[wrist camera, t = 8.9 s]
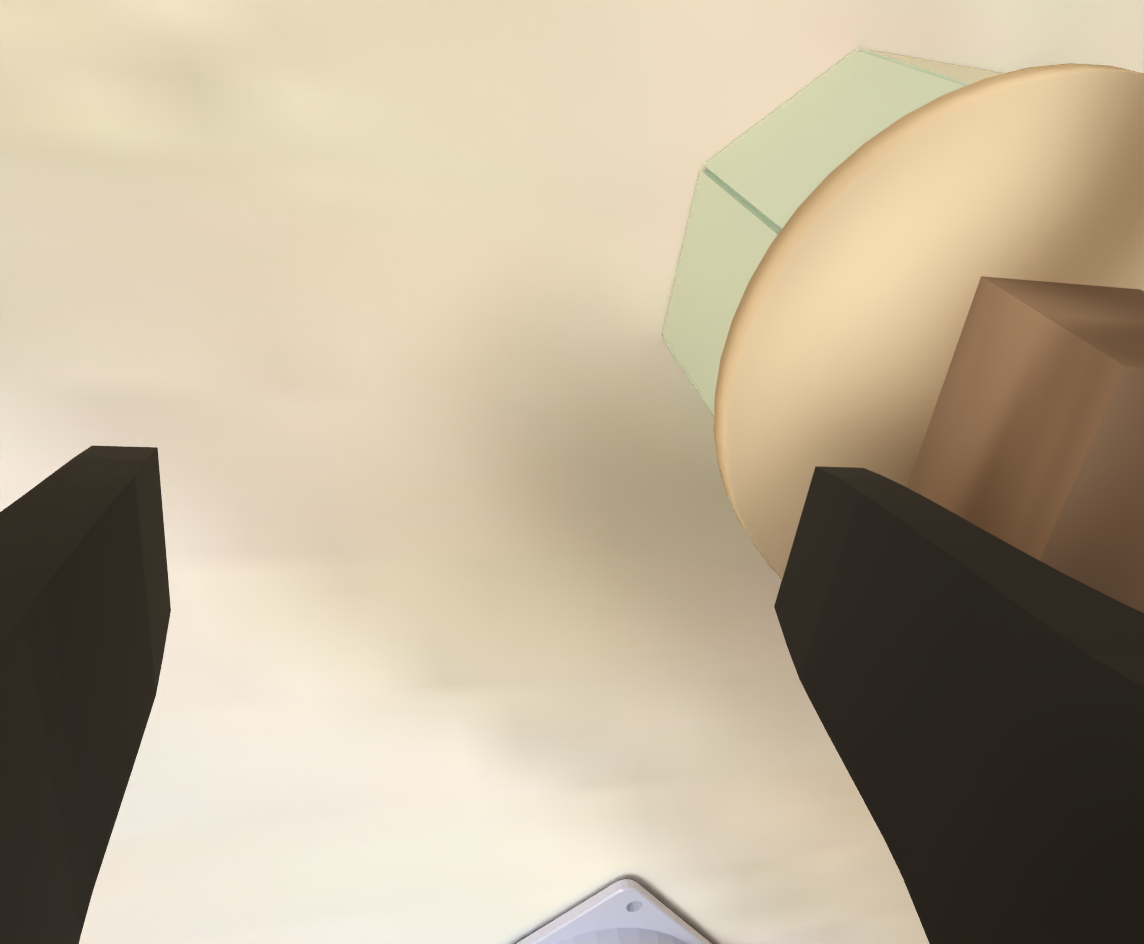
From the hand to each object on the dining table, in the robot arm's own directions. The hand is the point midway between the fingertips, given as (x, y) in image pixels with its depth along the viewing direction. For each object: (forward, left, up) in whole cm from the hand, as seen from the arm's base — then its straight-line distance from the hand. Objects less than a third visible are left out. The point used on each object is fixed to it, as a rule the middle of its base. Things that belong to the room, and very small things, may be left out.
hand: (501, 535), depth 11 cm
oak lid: (-7, -7, -5) cm, 11 cm away
